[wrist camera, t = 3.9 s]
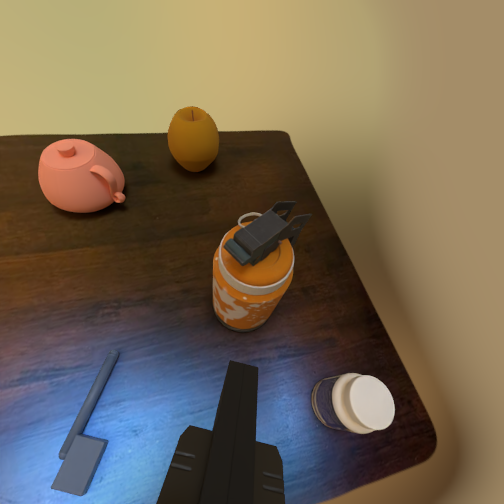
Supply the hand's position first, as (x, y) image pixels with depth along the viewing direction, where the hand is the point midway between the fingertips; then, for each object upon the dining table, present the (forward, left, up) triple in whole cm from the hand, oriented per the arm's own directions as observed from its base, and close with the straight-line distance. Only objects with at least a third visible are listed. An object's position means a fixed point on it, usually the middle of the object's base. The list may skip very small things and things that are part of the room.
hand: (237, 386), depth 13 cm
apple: (+17, -40, -22) cm, 48 cm away
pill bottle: (-14, -3, -22) cm, 27 cm away
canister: (0, -14, -22) cm, 26 cm away
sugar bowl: (+31, -26, -22) cm, 46 cm away
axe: (+13, +4, -22) cm, 26 cm away
